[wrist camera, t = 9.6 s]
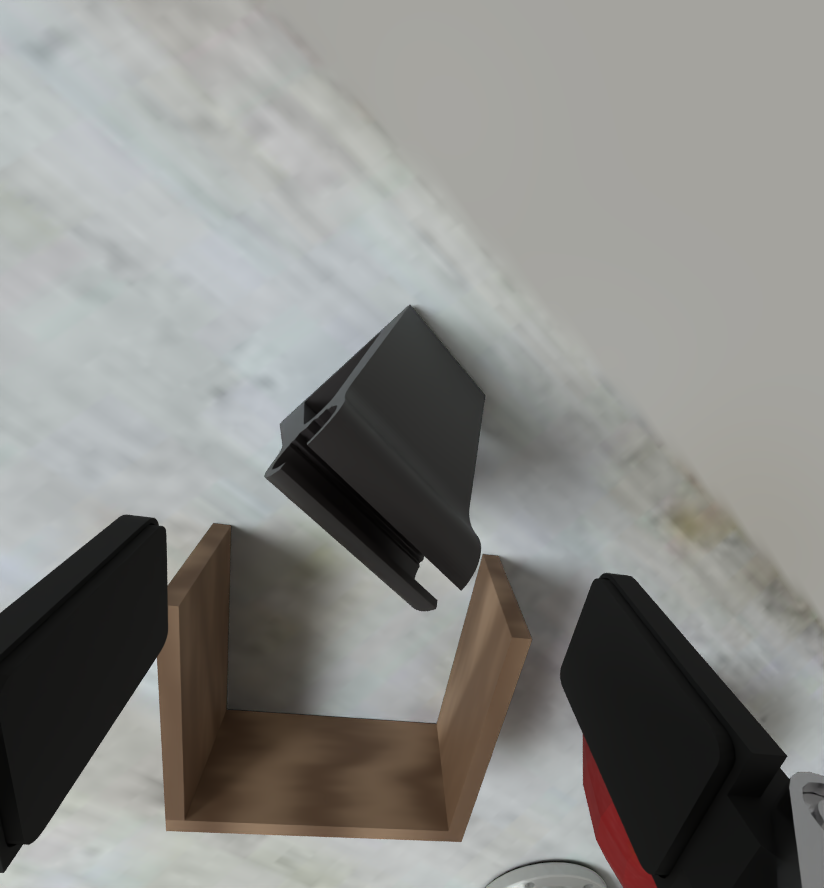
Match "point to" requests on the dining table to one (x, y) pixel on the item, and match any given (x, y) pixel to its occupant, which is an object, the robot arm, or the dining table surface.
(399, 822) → the open box
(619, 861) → the apple
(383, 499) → the phone stand
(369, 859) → the dining table surface
